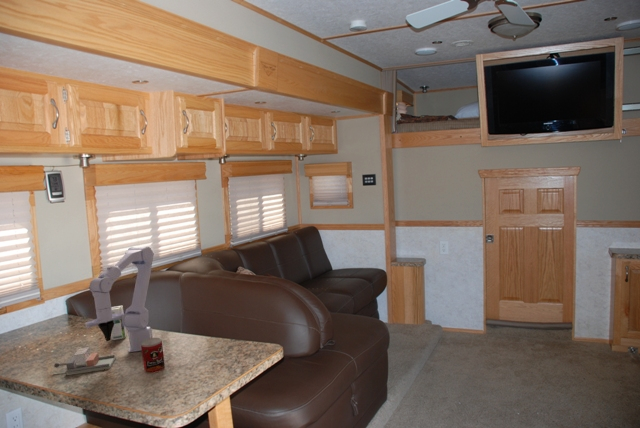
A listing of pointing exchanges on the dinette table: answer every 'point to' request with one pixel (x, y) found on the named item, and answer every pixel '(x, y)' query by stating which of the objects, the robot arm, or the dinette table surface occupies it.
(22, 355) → the dinette table surface
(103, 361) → the vise base
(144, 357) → the canned food
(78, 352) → the aluminium block
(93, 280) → the robot arm
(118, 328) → the syrup box
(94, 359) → the block
